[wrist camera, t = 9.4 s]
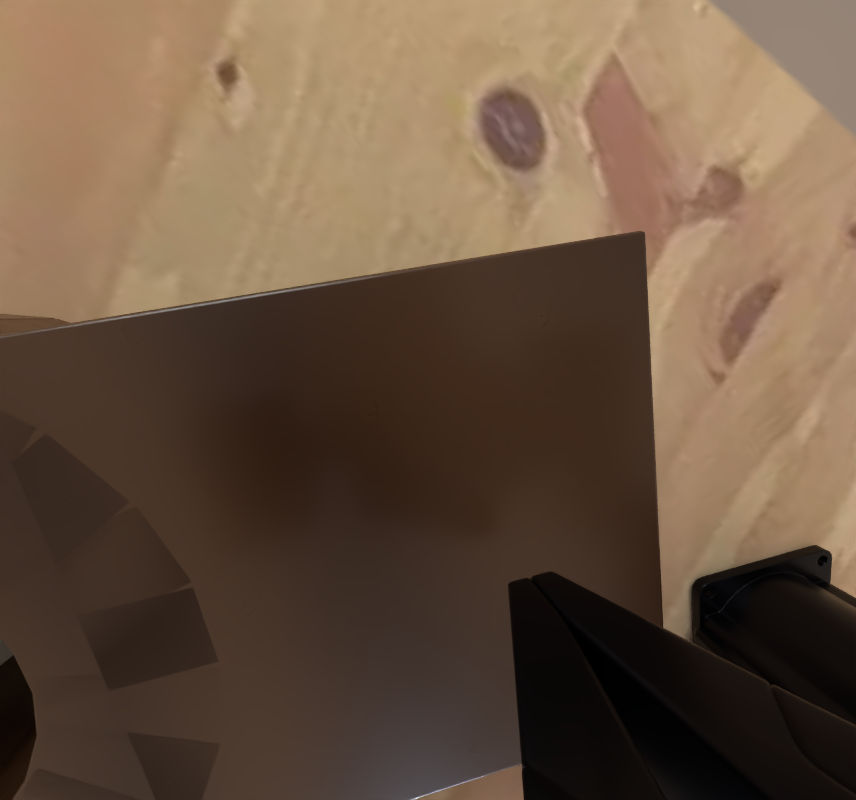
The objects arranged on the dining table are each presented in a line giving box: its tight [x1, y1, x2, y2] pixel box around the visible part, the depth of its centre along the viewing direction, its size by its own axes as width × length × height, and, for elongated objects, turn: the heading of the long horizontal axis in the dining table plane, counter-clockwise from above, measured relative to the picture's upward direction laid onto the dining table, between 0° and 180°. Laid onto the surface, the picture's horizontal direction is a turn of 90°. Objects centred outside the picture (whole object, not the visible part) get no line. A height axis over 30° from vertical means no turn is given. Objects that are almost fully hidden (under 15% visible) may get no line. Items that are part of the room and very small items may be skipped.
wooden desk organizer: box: [0, 231, 663, 800], centre depth 11 cm, size 24×14×6 cm, turn 100°
